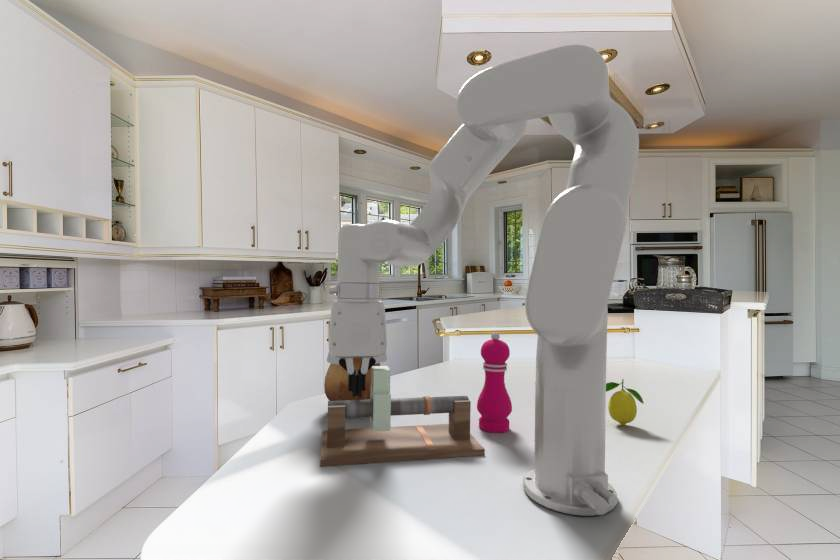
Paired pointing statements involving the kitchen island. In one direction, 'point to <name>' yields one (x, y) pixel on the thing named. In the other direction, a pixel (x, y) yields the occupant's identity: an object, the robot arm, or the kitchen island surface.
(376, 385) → the sleeve
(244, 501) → the kitchen island surface
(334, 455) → the pipe stand
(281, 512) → the kitchen island surface
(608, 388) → the lemon
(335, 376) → the butternut squash
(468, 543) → the kitchen island surface
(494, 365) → the pepper mill
